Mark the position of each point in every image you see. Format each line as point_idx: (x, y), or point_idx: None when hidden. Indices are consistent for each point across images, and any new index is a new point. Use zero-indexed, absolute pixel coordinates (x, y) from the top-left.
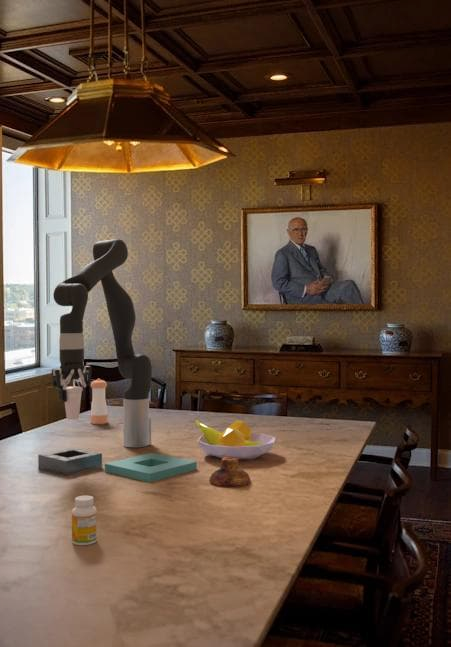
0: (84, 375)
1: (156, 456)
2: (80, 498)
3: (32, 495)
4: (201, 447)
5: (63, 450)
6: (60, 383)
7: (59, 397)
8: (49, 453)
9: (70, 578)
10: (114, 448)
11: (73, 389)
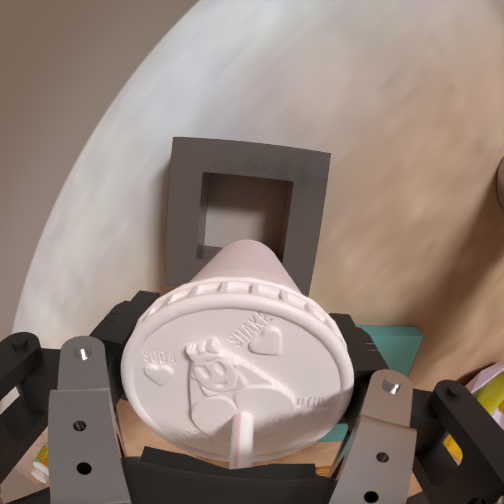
0: (472, 467)
1: (392, 368)
2: (35, 475)
3: (54, 320)
4: (478, 374)
5: (270, 157)
6: (37, 432)
7: (111, 312)
8: (206, 154)
9: (30, 459)
10: (479, 152)
11: (181, 443)
